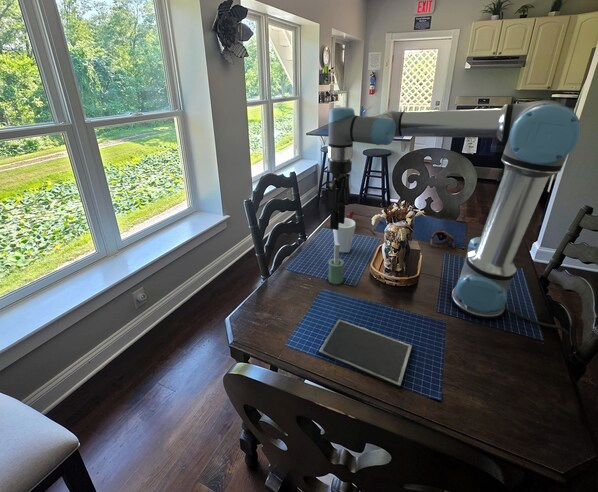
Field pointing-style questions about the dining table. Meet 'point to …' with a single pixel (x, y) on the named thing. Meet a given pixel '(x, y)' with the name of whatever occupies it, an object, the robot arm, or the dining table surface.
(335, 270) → the pen pot
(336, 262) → the stylus
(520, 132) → the robot arm
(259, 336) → the dining table surface
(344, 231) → the foam cup
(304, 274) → the dining table surface
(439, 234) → the pottery mug
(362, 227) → the glasses
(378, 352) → the tablet
